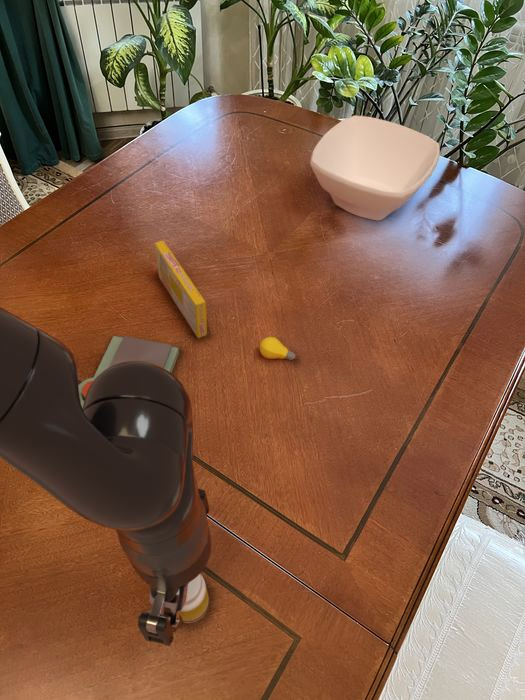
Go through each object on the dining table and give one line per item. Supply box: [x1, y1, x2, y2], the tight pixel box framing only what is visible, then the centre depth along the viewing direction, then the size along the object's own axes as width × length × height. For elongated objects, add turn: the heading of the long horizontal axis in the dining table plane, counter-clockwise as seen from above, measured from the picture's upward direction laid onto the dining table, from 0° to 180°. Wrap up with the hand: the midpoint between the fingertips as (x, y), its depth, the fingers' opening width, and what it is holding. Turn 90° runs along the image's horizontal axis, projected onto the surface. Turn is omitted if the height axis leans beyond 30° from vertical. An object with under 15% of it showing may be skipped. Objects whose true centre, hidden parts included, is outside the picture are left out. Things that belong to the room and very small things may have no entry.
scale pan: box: [109, 335, 173, 368], centre depth 87 cm, size 8×8×1 cm
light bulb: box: [259, 336, 296, 361], centre depth 91 cm, size 3×6×4 cm, turn 76°
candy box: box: [154, 239, 208, 339], centre depth 95 cm, size 16×2×8 cm, turn 30°
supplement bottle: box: [169, 573, 210, 624], centre depth 66 cm, size 5×5×8 cm
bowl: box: [309, 114, 441, 221], centre depth 111 cm, size 22×22×12 cm
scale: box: [78, 335, 180, 408], centre depth 87 cm, size 15×12×3 cm
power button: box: [82, 381, 93, 398], centre depth 84 cm, size 3×3×2 cm
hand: (184, 581), depth 63 cm, fingers open, 8 cm apart
